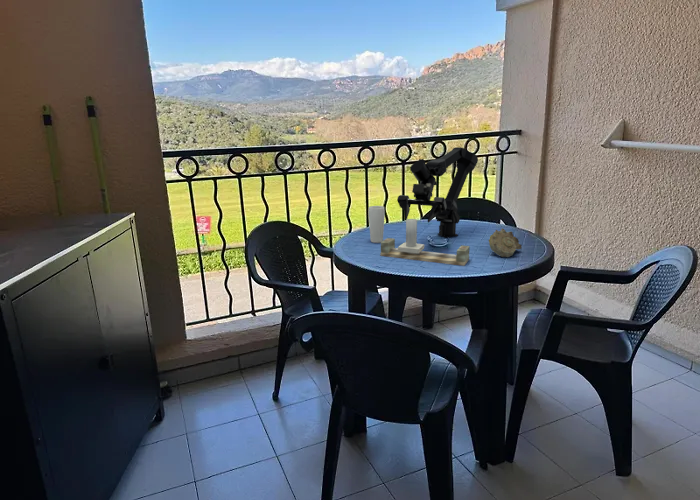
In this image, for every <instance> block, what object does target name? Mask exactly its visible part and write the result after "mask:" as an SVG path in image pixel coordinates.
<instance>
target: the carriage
mask: <svg viewBox="0 0 700 500" xmlns="http://www.w3.org/2000/svg"><path fill="white" fill-rule="evenodd" d="M417 234H418V220H417V219H415V218H407V220H406V221H405V242H403V243H402V244H400V245H399V246H398V247H397V248H398V251H401V252H410V253H420V252H421V251H424V249H425V244H424V243H423V244H422V243H417V241H418V236H417Z"/></svg>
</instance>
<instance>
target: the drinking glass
mask: <svg viewBox="0 0 700 500" xmlns="http://www.w3.org/2000/svg"><path fill="white" fill-rule="evenodd" d="M385 210H386V209H385V206H384V205H371V206H369V207H368V210H367V211H368V214H367V215H368V216H367V217H368V225H369V235H370V238H369V239H370V242H371V243H373V244H381V242H382V241H384V231H385V230H384V228H385V216H386V215H385V213H386V212H385Z"/></svg>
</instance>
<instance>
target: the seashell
mask: <svg viewBox="0 0 700 500" xmlns="http://www.w3.org/2000/svg"><path fill="white" fill-rule="evenodd" d="M488 242H489V247H490V249H491V251H492V252H494V254H496V255H497V256H499V257H502V258H509V257H511V256H513V255H514V253H515V252H516V251H517V250H522V248H523V247H522V244H520V241H519V238H517V237H515V236H514V234H513V231H506V229H504V228H501V229H500V231H499V230H497V229H495V231H494V232H493V234H491V235H490V236H489V239H488Z"/></svg>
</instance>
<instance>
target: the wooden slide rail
mask: <svg viewBox="0 0 700 500" xmlns="http://www.w3.org/2000/svg"><path fill="white" fill-rule="evenodd" d="M395 242H396V239H395V238H392V237H391V238H390V237H387V238H385V239H383V241H382V242H381V243H380V254H379V255H380V257H387V258H394V259H395V258H397V259H405V260H413V261H419V262H420V261H421V262H428V263H438V264H444V265H445V264H446V265H454V266H461V267H465V265H466V264H467V263H468V262H469V260H470V248H471V247H470V245H460V246H459V248H458V249H456V254H454V253H442V252H434V251H426V250H425V251H424V250H422V251H421V252H420V253H410V252H401V251H398V247H396V245H395V244H396V243H395Z"/></svg>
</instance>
